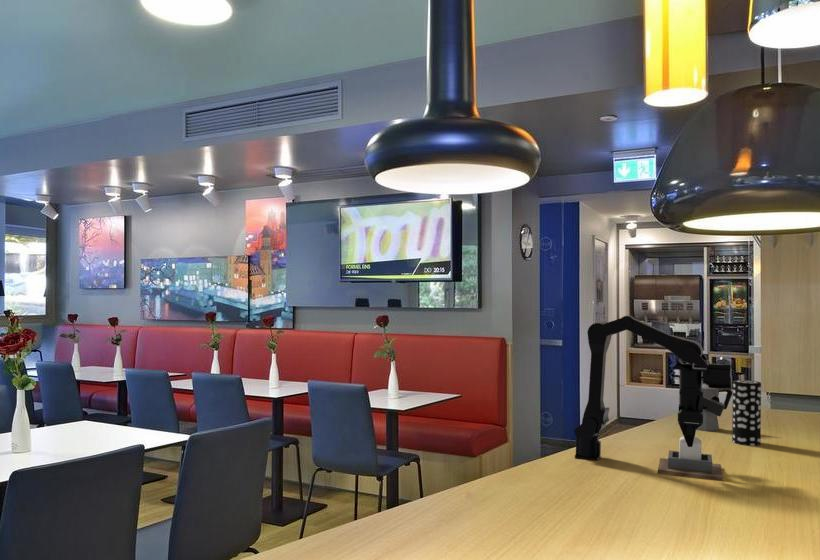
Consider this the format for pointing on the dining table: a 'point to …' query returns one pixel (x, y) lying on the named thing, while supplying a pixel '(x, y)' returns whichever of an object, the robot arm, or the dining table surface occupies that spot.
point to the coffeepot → (710, 418)
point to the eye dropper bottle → (690, 449)
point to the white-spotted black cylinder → (746, 412)
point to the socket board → (714, 475)
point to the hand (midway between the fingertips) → (690, 443)
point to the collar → (690, 463)
